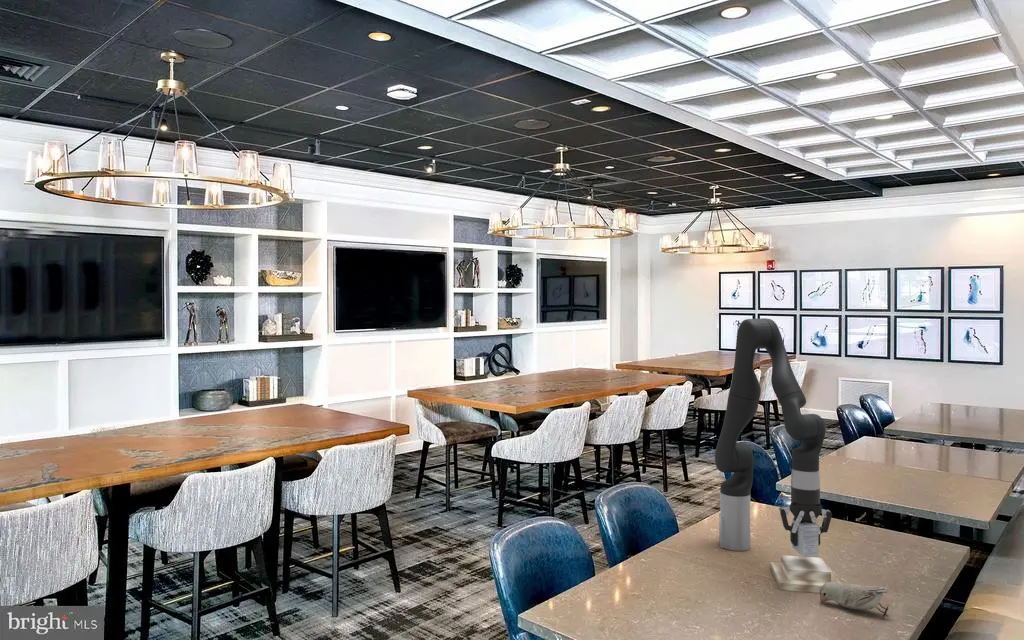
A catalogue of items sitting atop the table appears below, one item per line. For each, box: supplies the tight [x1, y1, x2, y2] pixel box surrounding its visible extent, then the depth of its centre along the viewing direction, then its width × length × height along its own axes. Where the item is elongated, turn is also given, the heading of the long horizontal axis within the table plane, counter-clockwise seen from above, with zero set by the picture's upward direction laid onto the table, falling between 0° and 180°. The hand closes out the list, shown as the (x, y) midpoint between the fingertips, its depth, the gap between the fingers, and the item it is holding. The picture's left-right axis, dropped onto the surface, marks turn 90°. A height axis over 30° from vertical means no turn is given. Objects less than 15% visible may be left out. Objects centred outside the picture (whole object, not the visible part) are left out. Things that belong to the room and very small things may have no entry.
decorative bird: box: [819, 582, 889, 618], centre depth 177 cm, size 5×16×8 cm, turn 55°
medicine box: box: [791, 518, 820, 558], centre depth 195 cm, size 8×4×9 cm, turn 179°
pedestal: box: [770, 555, 842, 594], centre depth 196 cm, size 16×16×5 cm
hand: (805, 545), depth 196 cm, fingers closed on medicine box, 5 cm apart
